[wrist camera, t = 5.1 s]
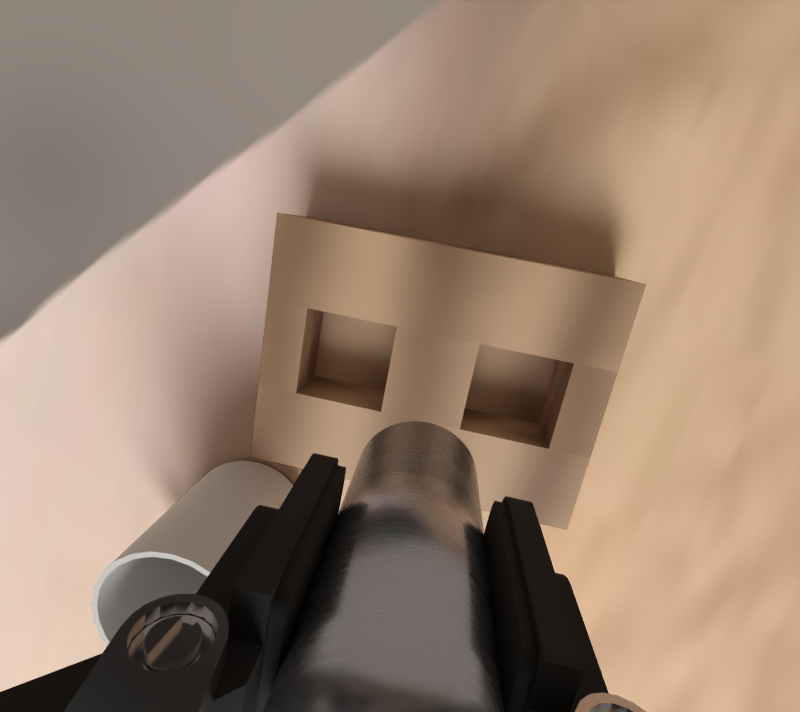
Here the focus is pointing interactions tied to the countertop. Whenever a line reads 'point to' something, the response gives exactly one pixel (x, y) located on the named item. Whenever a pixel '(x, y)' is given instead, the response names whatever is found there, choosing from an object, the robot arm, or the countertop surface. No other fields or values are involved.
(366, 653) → the dowel
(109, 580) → the cup
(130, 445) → the countertop surface
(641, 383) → the countertop surface
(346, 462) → the bore block
